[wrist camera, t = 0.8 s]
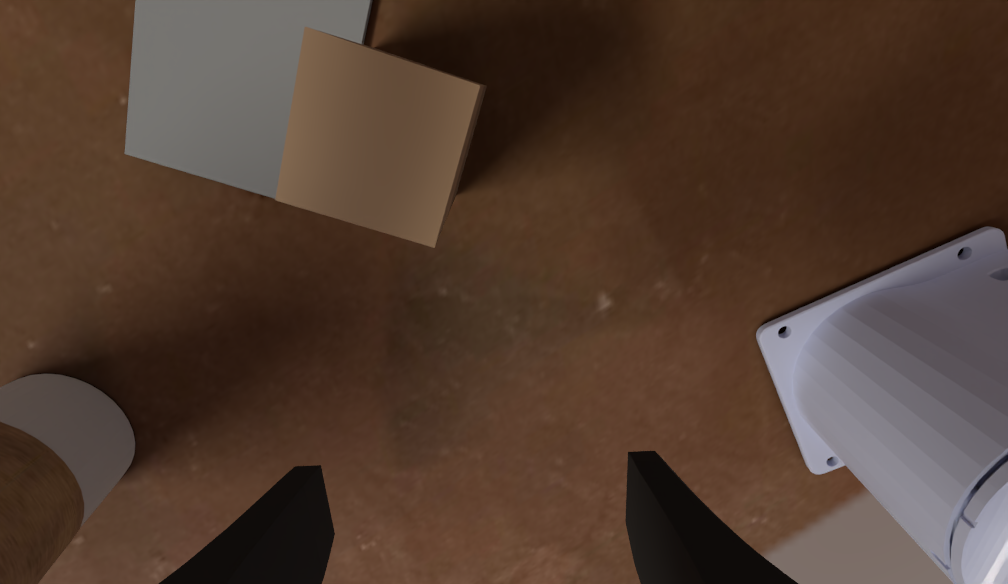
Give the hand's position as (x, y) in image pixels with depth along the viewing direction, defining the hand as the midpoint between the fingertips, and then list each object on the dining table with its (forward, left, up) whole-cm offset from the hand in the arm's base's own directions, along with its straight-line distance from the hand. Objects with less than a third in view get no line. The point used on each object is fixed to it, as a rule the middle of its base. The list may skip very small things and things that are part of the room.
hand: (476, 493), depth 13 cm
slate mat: (+3, -12, -10) cm, 16 cm away
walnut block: (-1, -8, -10) cm, 13 cm away
